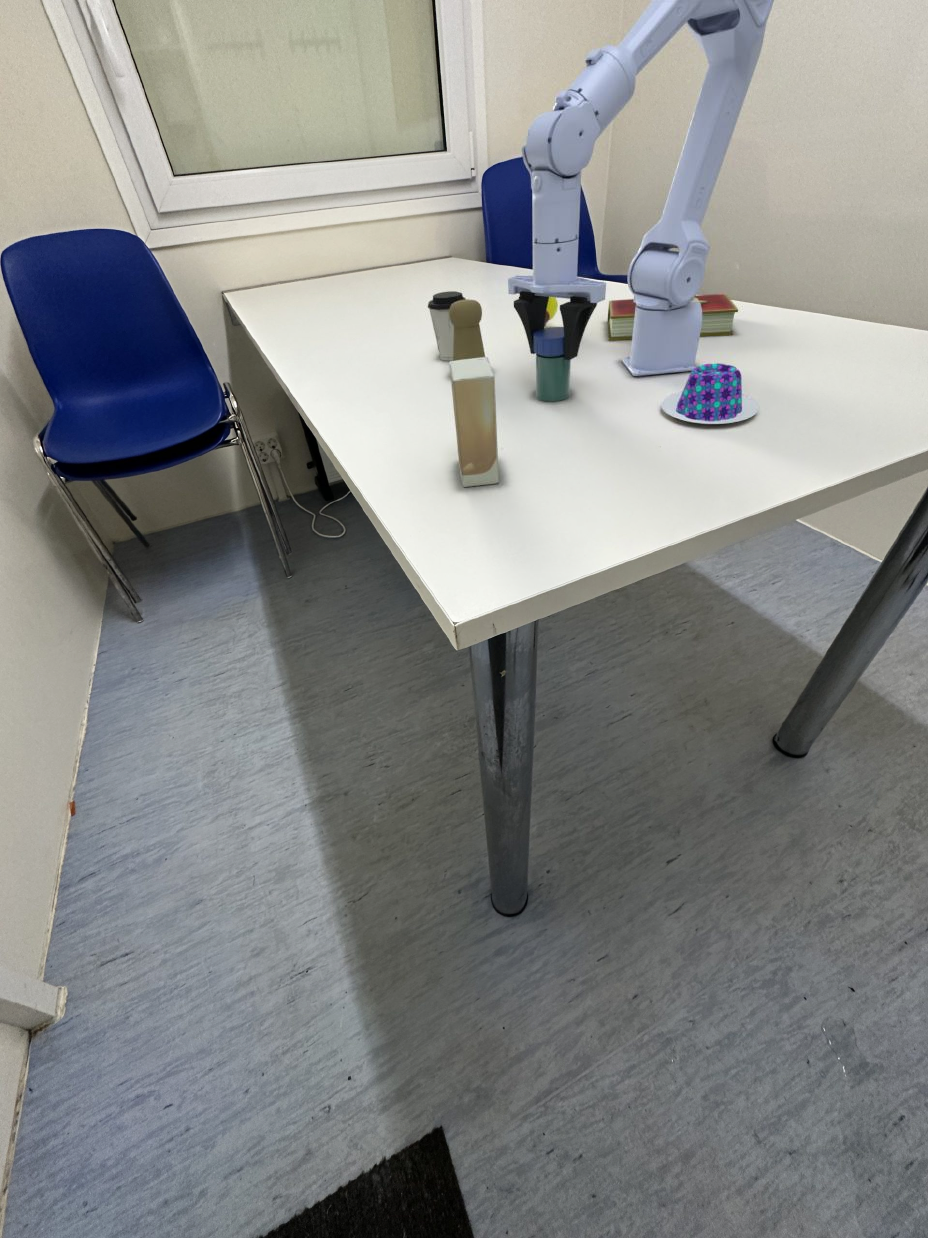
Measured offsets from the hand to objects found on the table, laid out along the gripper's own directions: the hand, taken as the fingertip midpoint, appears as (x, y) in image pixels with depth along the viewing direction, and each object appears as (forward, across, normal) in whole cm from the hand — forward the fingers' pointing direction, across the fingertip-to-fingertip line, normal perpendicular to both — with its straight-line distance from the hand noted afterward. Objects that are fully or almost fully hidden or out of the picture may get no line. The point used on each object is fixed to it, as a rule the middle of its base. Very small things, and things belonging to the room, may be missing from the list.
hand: (553, 354), depth 77 cm
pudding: (+6, +21, +6) cm, 23 cm away
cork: (+6, -18, +1) cm, 19 cm away
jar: (+6, 0, 0) cm, 6 cm away
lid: (-3, 0, 0) cm, 3 cm away
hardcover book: (+6, -2, +38) cm, 38 cm away
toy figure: (+6, -23, +27) cm, 36 cm away
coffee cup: (+6, -28, +6) cm, 29 cm away
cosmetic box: (+6, +8, -25) cm, 27 cm away
